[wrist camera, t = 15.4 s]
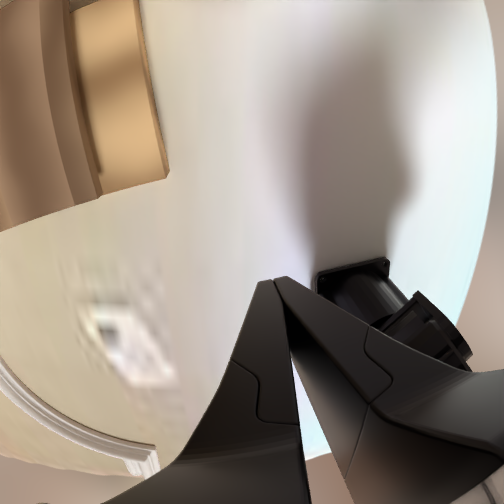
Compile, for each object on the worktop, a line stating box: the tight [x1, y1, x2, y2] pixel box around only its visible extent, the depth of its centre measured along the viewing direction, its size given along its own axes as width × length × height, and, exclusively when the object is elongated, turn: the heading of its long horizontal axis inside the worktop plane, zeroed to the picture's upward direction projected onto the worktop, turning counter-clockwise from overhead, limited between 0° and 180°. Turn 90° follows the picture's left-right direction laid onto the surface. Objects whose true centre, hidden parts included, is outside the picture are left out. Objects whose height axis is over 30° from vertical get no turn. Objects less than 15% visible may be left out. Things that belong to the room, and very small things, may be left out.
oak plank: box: [70, 0, 170, 196], centre depth 15 cm, size 12×5×2 cm, turn 9°
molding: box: [0, 356, 161, 480], centre depth 27 cm, size 42×12×3 cm, turn 35°
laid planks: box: [0, 0, 103, 232], centre depth 13 cm, size 12×14×4 cm
